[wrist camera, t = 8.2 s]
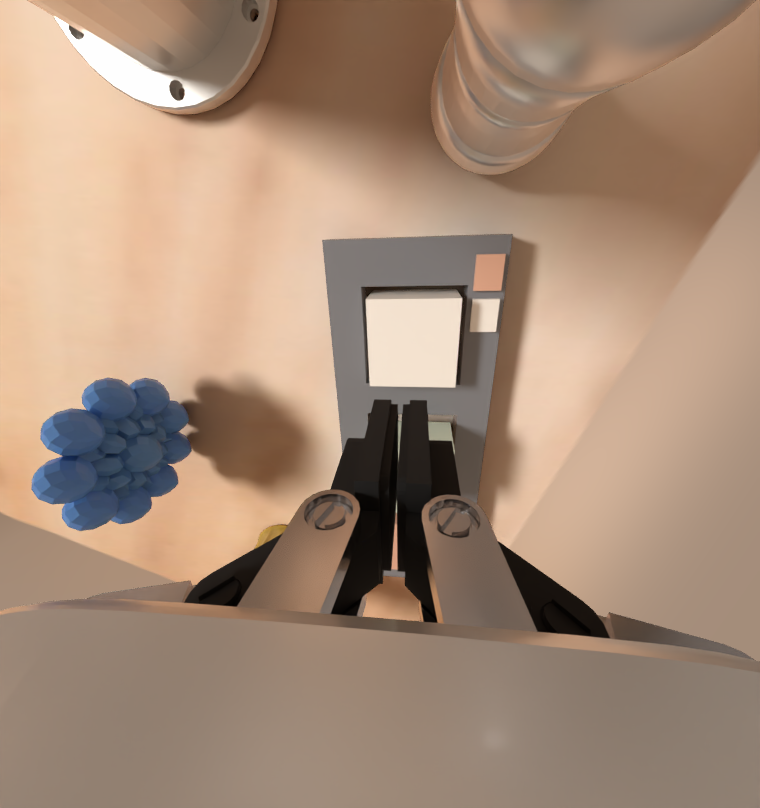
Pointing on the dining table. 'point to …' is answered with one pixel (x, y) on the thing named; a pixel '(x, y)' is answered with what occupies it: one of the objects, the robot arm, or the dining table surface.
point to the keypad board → (480, 326)
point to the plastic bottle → (550, 67)
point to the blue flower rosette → (112, 453)
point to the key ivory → (413, 337)
